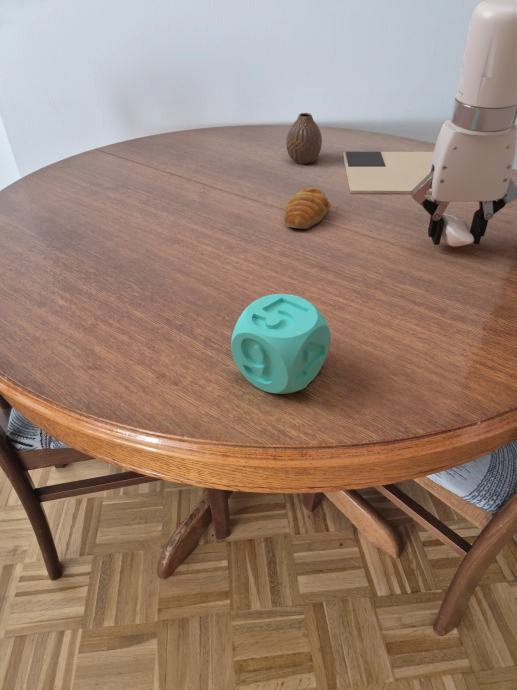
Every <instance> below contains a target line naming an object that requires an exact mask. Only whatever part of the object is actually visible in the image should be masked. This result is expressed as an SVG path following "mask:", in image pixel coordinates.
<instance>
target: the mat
mask: <svg viewBox="0 0 517 690" xmlns="http://www.w3.org/2000/svg"><path fill="white" fill-rule="evenodd" d="M433 152H434V151H342V159H343V163H344V164H343V165H344V168H345V169H344V170H345V173H346V178H347V184H348V189H349V193H350V194H353V195H354V194H355V195H357V194H358V195H359V194H361V195H362V194H363V195H364V194H367V195H368V194H370V195H371V194H373V195H375V194H376V195H377V194H380V195H381V194H382V195H383V194H384V195H386V194H387V195H392V194H393V195H397V194H398V195H411V191H412V190H413V189H414V188H415V187H416V186H417V185H418V184H419V183H420V182H421V181H422V180H423V179H424V178H425V177H426V176H427V175H428V172H429V167H430V163H431V160H432V156H433ZM425 195H432V189H429V190H428V191H427V192H426V193H425Z"/></svg>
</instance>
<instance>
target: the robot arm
mask: <svg viewBox="0 0 517 690" xmlns="http://www.w3.org/2000/svg"><path fill="white" fill-rule="evenodd" d="M464 45H465V46H464V51H463V55H462V61H461V66H460V71H459V76H458V82H457V86H456V92H455V97H454V102H453V107H452V113H451V118H450V119H447V120H445V121H443V124H442V126H441V129H440V130H439V133H438V136H437V139H436V142H435V145H434V149H433V151H432V152H433V156H432V160H431V163H430V167H429V172H428V175H427V176H426V177H425V178H424V179H423V180H422V181H421V182H420V183H419V184H418V185H417V186H416V187H415V188H414V189H413V190H412V191H411V194H410V195H411V198H412V199H413V200H414V201H415V202H416V203H418V204H419V205H420V206H421V207H422V208H423V209H424V210H425V211H426V212H427V213H428V214H429V215H430V218H429V222H428V228H427V236H428V237H429V238H431V241H432V243H433V245H434V246H439V245H440V243H441V239H442V236H441V235H442V230H443V225H444V220H443V218H442V216H443V214H445V211H446V210H447V208H448V206H449V205H450V203H464V202H467V203H468V202H472V203H473V202H474V203H475V202H478V209H477V210H475V212H473V216H472V219H471V220H472V221H471V225H470V227H469V231H470V233H471V234H472V235H473V238H474V241H473V242H472V244H473V245H475V246H477V245H480V243H481V241H482V237H485V234H486V231H487V227H488V223H489V221H490V220H492V219H493V217H494V215H495V214H497V213H498V212H499V211H500V210H502V209H504V208H505V206H506V205H507V204H510V203H512V202H513V201H515V200H517V185H516V184H515V182H514V180H513V179H512V177H511V176H512V171H513V167H514V161H515V154H516V146H517V145H516V144H517V125H516V124H515V123H516V120H517V0H483V1H480V3H478V4H476V6H475V7H474V9H473V11H472V13H471V16H470V20H469V24H468V30H467V35H466V40H465V44H464ZM429 189H432V194H431V197H432V199H431V198H430V197H429V196H428V195H427V194H425V193H426V192H427V191H428V190H429Z"/></svg>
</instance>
